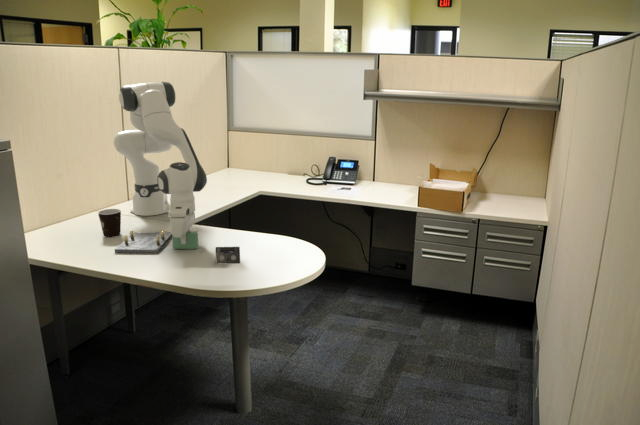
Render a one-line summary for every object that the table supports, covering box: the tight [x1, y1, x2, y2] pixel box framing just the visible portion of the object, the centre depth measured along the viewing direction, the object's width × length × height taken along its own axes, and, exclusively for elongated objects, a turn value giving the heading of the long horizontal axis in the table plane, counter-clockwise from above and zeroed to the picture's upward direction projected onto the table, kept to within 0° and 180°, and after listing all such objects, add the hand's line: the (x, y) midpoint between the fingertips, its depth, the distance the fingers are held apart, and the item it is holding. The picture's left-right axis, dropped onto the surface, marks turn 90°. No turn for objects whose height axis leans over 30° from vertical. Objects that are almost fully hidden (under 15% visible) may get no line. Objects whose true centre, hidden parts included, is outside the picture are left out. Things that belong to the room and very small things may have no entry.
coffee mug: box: [97, 208, 122, 238], centre depth 216 cm, size 12×9×10 cm
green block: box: [171, 230, 199, 250], centre depth 202 cm, size 3×9×6 cm, turn 89°
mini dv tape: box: [215, 246, 241, 265], centre depth 187 cm, size 8×2×6 cm, turn 92°
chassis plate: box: [114, 230, 172, 254], centre depth 206 cm, size 20×16×4 cm
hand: (185, 241), depth 202 cm, fingers closed on green block, 3 cm apart
